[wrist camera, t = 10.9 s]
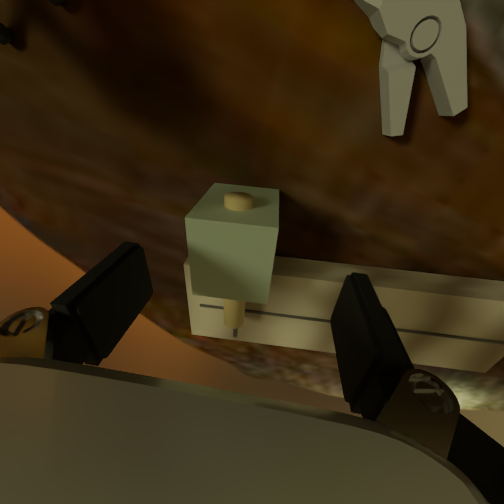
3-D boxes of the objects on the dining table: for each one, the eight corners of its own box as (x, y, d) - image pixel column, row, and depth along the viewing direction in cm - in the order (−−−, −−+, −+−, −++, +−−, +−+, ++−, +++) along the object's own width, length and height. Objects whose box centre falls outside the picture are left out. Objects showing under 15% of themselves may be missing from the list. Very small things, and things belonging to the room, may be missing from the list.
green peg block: (280, 182, 15) (280, 218, 10) (265, 291, 21) (260, 350, 16) (214, 175, 16) (183, 207, 11) (216, 285, 21) (196, 341, 16)
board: (524, 283, 18) (559, 308, 15) (465, 347, 22) (485, 374, 20) (194, 246, 19) (183, 265, 17) (199, 313, 23) (191, 335, 21)
